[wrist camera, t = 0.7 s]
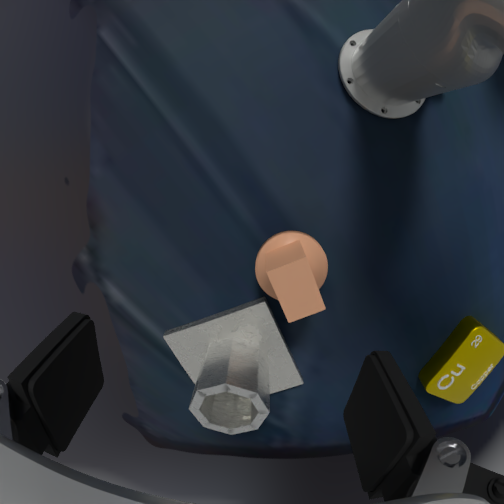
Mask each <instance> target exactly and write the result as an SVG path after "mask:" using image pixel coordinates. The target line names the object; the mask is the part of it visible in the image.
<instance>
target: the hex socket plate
mask: <svg viewBox="0 0 504 504" xmlns="http://www.w3.org/2000/svg"><path fill="white" fill-rule="evenodd" d="M163 337H164V339H165V340H166V342H167V344H168V345H169V347H170V348H171V350H172V351H173V353H174V354H175V356H176V357H177V359H178V360H179V362H180V363H181V365H182V366H183V368H184V369H185V371H186V372H187V373H188V375H189V376H190V378H191V379H192V381H193V382H194V383H195V388H194V391H193V395H192V399H191V402H190V406H189V410H190V411H191V412H192V413H193V415H194V416H195V417H196V418H197V419H198V421H199V422H200V423H201V424H202V425H203V427H206V428H209V429H213V430H216V431H219V432H223V433H227V434H230V435H232V434H237V433H242V432H247V431H252V430H256V429H258V428H259V427H260V425H261V424H262V422H263V421H264V420H265V418H266V417H267V415H268V414H269V413H270V397H269V394H271V393H275V392H278V391H282V390H285V389H288V388H291V387H295V386H298V385H301V384H303V377H302V375H301V373H300V371H299V369H298V367H297V365H296V362H295V360H294V358H293V356H292V354H291V352H290V349H289V347H288V345H287V343H286V341H285V339H284V337H283V334H282V332H281V330H280V328H279V326H278V324H277V321H276V319H275V317H274V315H273V313H272V311H271V308H270V306H269V304H268V302H267V300H266V298H265V297H262V298H259V299H256V300H254V301H251V302H248V303H246V304H243V305H240V306H237V307H234V308H232V309H229V310H226V311H223V312H220V313H217V314H215V315H212V316H209V317H206V318H203V319H200V320H197V321H194V322H191V323H188V324H185V325H182V326H179V327H176V328H173V329H170V330H167V331H165V333H164V335H163Z"/></svg>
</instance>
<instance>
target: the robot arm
mask: <svg viewBox="0 0 504 504" xmlns="http://www.w3.org/2000/svg"><path fill="white" fill-rule="evenodd" d="M350 44H352V45H353V46H351V45H350ZM503 54H504V0H402V1H401V2H400V3H399V4H398V5H397V6H396V7H395V8H394V9H393V10H392V11H391V12H390V13H389V14H388V15H387V16H386V17H385V18H384V20H383V21H382V22H381V23H380V24H379V25H378V26H377V27H376V28H375V29H370V30H364V31H360V32H358V33H356V34H354V35H352V36H351V37H350V38H349V39H348V40H347V41H346V42H345V44H344V45H343V47H342V49H341V51H340V54H339V59H338V70H339V74H340V78H341V81H342V83H343V86H344V87H345V89H346V91H347V92H348V94H349V95H350V96H351V97H352V99H353V100H354V101H355V102H356V103H357V104H358V105H360V106H361V107H362V108H363V109H365V110H367V111H368V112H370V113H372V114H374V115H377V116H379V117H384V118H393V119H396V118H402V117H405V116H409V115H411V114H412V113H414V112H416V111H417V110H418V109H419V108H420V107H421V106H422V104H423V102H424V101H425V98H427V97H430V96H434V95H437V94H441V93H445V92H448V91H452V90H456V89H460V88H464V87H468V86H471V85H475V84H478V83H481V82H483V81H485V80H487V79H488V78H490V77H491V76H492V75H493V73H494V72H495V71H496V70H497V68H498V66H499V64H500V62H501V59H502V56H503ZM347 81H349V82H350V84H348V82H347ZM381 109H382V110H383V113H382V111H381ZM8 379H9V382H8V383H7V384H5V382H4V381H2V380H1V379H0V504H194V503H188V502H183V501H177V500H172V499H167V498H163V497H159V496H154V495H150V494H146V493H142V492H139V491H135V490H132V489H128V488H125V487H121V486H118V485H115V484H111V483H109V482H106V481H103V480H100V479H97V478H94V477H92V476H89V475H86V474H83V473H81V472H79V471H76V470H74V469H71V468H69V467H67V466H64V465H62V464H60V463H58V462H55V461H53V460H51V459H49V458H46V457H44V456H42V454H43V452H44V451H45V452H47V453H49V454H51V455H53V456H55V457H58V456H59V453H60V452H61V451H65V450H66V449H67V447H68V445H69V443H70V441H71V439H72V438H73V436H74V434H75V433H76V431H77V429H78V427H79V426H80V424H81V422H82V421H83V419H84V417H85V416H86V414H87V412H88V410H89V408H90V407H91V405H92V404H93V402H94V400H95V399H96V397H97V395H98V393H99V392H100V390H101V389H102V387H103V383H104V377H103V373H102V367H101V362H100V358H99V352H98V346H97V340H96V333H95V326H94V322H93V321H92V320H90V317H89V316H88V315H85V314H81V313H77V312H73V313H71V314H70V315H69V316H68V317H67V318H66V319H65V320H64V321H63V322H62V323H61V324H60V325H59V326H58V327H57V328H55V330H54V331H52V332H51V333H50V334H49V335H48V336H47V337H46V338H45V339H44V340H43V341H42V342H41V343H40V344H39V345H38V346H37V347H36V348H35V349H34V350H33V351H32V352H31V353H30V354H29V355H28V356H27V357H26V358H25V359H24V360H23V361H22V362H21V363H20V364H19V365H18V366H17V367H16V368H15V370H14V371H13V372H12V373H11V374H10V375H9V376H8ZM344 421H345V425H346V428H347V432H348V435H349V439H350V443H351V446H352V450H353V454H354V457H355V461H356V465H357V468H358V473H359V476H360V480H361V484H362V488H363V490H364V491H365V492H368V495H369V499H374V498H379V497H383V498H384V502H380V503H374V504H504V476H503V475H500V474H497V473H495V472H492V471H490V470H487V469H485V468H482V467H480V466H477V465H475V464H473V463H470V459H471V454H470V451H469V449H468V448H467V446H466V445H465V444H464V443H463V442H462V441H459V440H458V439H455V438H451V437H445V438H441V439H439V440H438V441H437V439H436V437H435V435H436V432H435V430H434V429H433V427H432V425H431V423H430V421H429V419H428V418H427V416H426V414H425V412H424V410H423V408H422V407H421V405H420V403H419V401H418V400H417V398H416V396H415V394H414V392H413V391H412V389H411V387H410V386H409V384H408V382H407V380H406V379H405V377H404V375H403V374H402V372H401V370H400V368H399V367H398V365H397V363H396V362H395V360H394V358H393V357H392V355H391V354H390V352H388V351H373V352H372V353H371V354H370V355H367V356H366V358H365V360H364V363H363V365H362V368H361V371H360V373H359V376H358V378H357V381H356V383H355V386H354V388H353V391H352V393H351V395H350V398H349V400H348V402H347V405H346V407H345V409H344Z"/></svg>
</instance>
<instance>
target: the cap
mask: <svg viewBox="0 0 504 504" xmlns="http://www.w3.org/2000/svg"><path fill="white" fill-rule="evenodd" d="M255 271H256V277H257V280H258V283H259V285H260V286H261V288H262V289H263V290H264V291H265V292H266V293H267V294H268V295H269V296H271V297H273V298H275V299H277V300H279V302H280V304H281V307H282V309H283V311H284V313H285V316H286V318H287V320H288V323H290V322H293V321H296V320H298V319H301V318H304V317H307V316H309V315H312V314H315V313H317V312H320V311H322V310H325V309H326V308H325V305H324V303H323V300H322V297H321V295H320V292H319V289H320V287H321V286H322V285H323V283H324V281H325V279H326V276H327V271H328V263H327V258H326V255H325V253H324V251H323V249H322V247H321V246H320V244H319V243H318V242H317V241H316V240H315V239H314V238H313V237H311V236H310V235H308V234H306V233H303V232H300V231H284V232H280V233H277V234H275V235H273V236H272V237H270V238H269V239H268V240H266V241H265V243H264V244H263V245H262V246H261V248H260V250H259V252H258V254H257V258H256V267H255Z"/></svg>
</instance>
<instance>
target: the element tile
mask: <svg viewBox="0 0 504 504" xmlns="http://www.w3.org/2000/svg"><path fill="white" fill-rule="evenodd" d="M503 355H504V343H503V342H502V341H501V340H500V339H499V338H498V337H497V336H496V335H494V334H493V333H492V332H491V331H490V330H488V329H487V328H486V327H485V326H483V325H482V324H481V323H480V322H479V321H477V320H476V319H475V318H474V317H472V316H467V317H465V318H463V319H462V320H461V321H460V323H459V324H458V325H457V327H456V328H455V329H454V331H453V332H452V333H451V335H450V336H449V337H448V338H447V340H446V341H445V342H444V343H443V345H442V346H441V347H440V348H439V350H438V351H437V352H436V353H435V354H434V356H433V357H432V358H431V359H430V360H429V362H428V363H427V364H426V365H425V366H424V367H423V368H422V370H421V371H420V373H419V376H418V378H419V379H420V381H421V383H422V385H423V386H424V388H425V390H426V391H427V392H428V393H430V394H432V395H435V396H438V397H440V398H443V399H445V400H448V401H451V402H454V403H456V404H459V403H463V402H464V401H465V400H466V399H467V398H468V397H469V396H470V395H471V394H472V393H473V392H474V391H475V390H476V389H477V387H478V386H479V385H480V384H481V383H482V382H483V381H484V379H485V378H486V377H487V376H488V375H489V373H490V372H491V371H492V370H493V369H494V367H495V366H496V365H497V364H498V362H499V361H500V360H501V358H502V357H503Z"/></svg>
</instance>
